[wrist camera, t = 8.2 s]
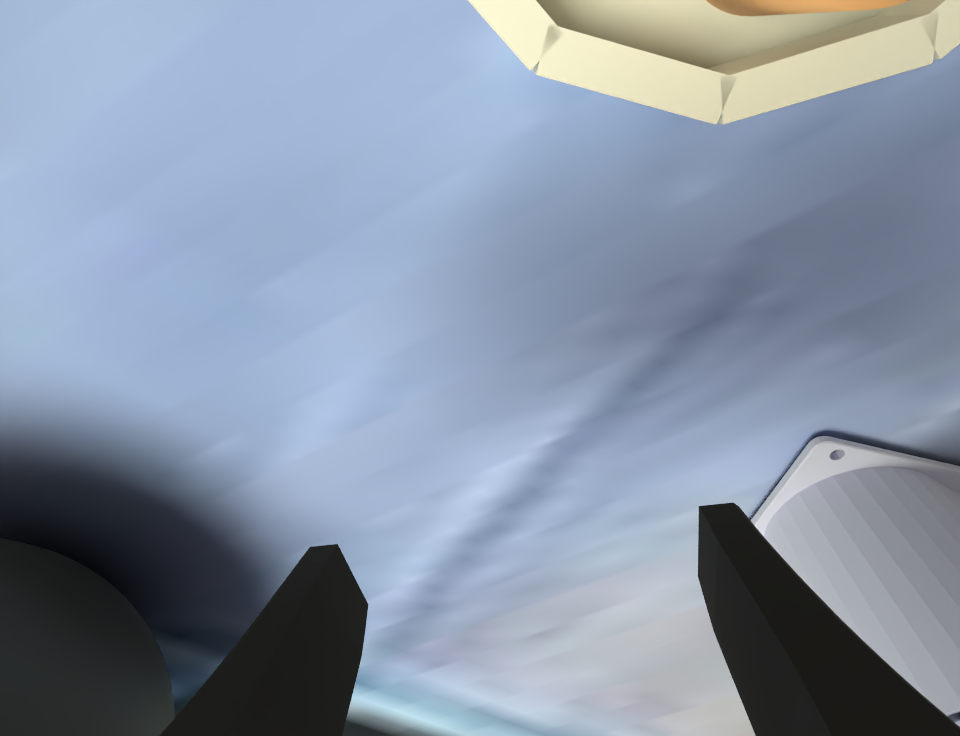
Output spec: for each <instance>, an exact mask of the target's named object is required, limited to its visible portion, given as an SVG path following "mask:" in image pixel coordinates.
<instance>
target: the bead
mask: <svg viewBox="0 0 960 736" xmlns="http://www.w3.org/2000/svg"><path fill="white" fill-rule="evenodd" d="M706 1H707V2H708V3H710V4H711V5H712V6H714V7H716V8H717V9H719V10H721V11H724V12H726V13H729V14H733V15H738V16H766V15H785V14H803V13H822V12H840V11H858V10H872V9H881V8H886V7H890V6H894V5H898V4H902V3H905V2H907V1H910V0H706Z"/></svg>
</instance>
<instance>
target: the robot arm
mask: <svg viewBox="0 0 960 736" xmlns="http://www.w3.org/2000/svg"><path fill="white" fill-rule="evenodd" d="M835 450H837V451H836V452H833V451H835ZM832 452H833V453H832ZM698 578H699V581H700V585H701V588H702V592H703V595H704V599H705V603H706V606H707V609H708V613H709V616H710V620H711V623H712V626H713V630H714V633H715V635H716V638H717V640H718V643H719V645H720V648H721V650H722V653H723V655H724V658H725V660H726V663H727V665H728V668H729V670H730V673H731V675H732V678H733V680H734V683H735V685H736V688H737V690H738V693H739V695H740V698H741V700H742V703H743V705H744V708H745V710H746V713H747V715H748V718H749V720H750V722H751V725H752V727H753V730H754V732H755V735H756V736H960V466H956V465H952V464H948V463H943V462H939V461H934V460H930V459H926V458H921V457H917V456H913V455H908V454H904V453H899V452H895V451H891V450H886V449H882V448H878V447H873V446H869V445H864V444H860V443H856V442H851V441H847V440H843V439H838V438H834V437H829V436H820V437H816V438H814V439H812V440H811V441H810V442H809V443H808V444H807V446H806V447H805V448H804V450H803V451H802V452H801V454H800V455H799V456H798V458H797V459H796V460H795V462H794V463H793V465H792V466H791V467H790V469H789V470H788V471H787V473H786V474H785V475H784V477H783V478H782V479H781V481H780V482H779V483H778V485H777V486H776V487H775V489H774V490H773V491H772V493H771V494H770V495H769V497H768V498H767V499H766V501H765V502H764V503H763V505H762V506H761V507H760V509H759V510H758V511H757V513H756V514H755V515H754V517H753V518H752V519H751V521H750V520H749V518H748V517H747V516H746V515H745V514H744V512H743V511H742V510H741V509H740V507H739V506H737V505H736V504H734V503H725V504H716V505H706V506H699V543H698ZM367 610H368V603H367V601H366V599H365V597H364V595H363V593H362V592H361V590H360V588H359V586H358V584H357V582H356V580H355V578H354V576H353V574H352V572H351V570H350V568H349V566H348V564H347V562H346V560H345V558H344V556H343V554H342V552H341V550H340V548H339V546H338V544H335V545H325V546H316V547H310V548H309V549H308V551H307V552H306V553H305V554H304V556H303V557H302V558H301V560H300V561H299V562H298V564H297V565H296V566H295V568H294V569H293V570H292V572H291V573H290V574H289V576H288V577H287V578H286V580H285V581H284V582H283V584H282V585H281V586H280V588H279V589H278V590H277V592H276V593H275V594H274V596H273V597H272V598H271V600H270V601H269V602H268V604H267V605H266V606H265V608H264V609H263V610H262V612H261V613H260V614H259V616H258V617H257V618H256V620H255V621H254V622H253V623H252V625H251V626H250V627H249V629H248V630H247V631H246V633H245V634H244V635H243V636H242V638H241V639H240V640H239V642H238V643H237V644H236V646H235V647H234V648H233V649H232V651H231V652H230V653H229V654H228V656H227V657H226V658H225V659H224V661H223V662H222V663H221V664H220V665H219V667H218V668H217V669H216V670H215V671H214V673H213V674H212V675H211V676H210V678H209V679H208V680H207V681H206V682H205V684H204V685H203V686H202V687H201V688H200V690H199V691H198V692H197V693H196V694H195V696H194V697H193V698H192V699H191V700H190V702H189V703H188V704H187V705H186V706H185V707H184V709H183V710H182V711H181V712H180V713H179V714H178V715H177V716H176V718H175V719H174V720H173V721H172V722H171V723H170V724H169V725H168V727H167V728H166V729H165V730H164V731H163V732H162V733H161V734H160V735H159V736H342V733H343V729H344V725H345V721H346V717H347V713H348V709H349V705H350V702H351V698H352V693H353V689H354V685H355V681H356V677H357V673H358V669H359V665H360V660H361V656H362V649H363V642H364V635H365V627H366V619H367Z"/></svg>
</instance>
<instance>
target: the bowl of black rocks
mask: <svg viewBox="0 0 960 736" xmlns="http://www.w3.org/2000/svg"><path fill="white" fill-rule="evenodd" d="M174 719H175V712H174V699H173V694H172V688H171V683H170V678H169V674H168V671H167V668H166V665H165V661H164V658H163V655H162V653H161V650H160V648H159V646H158V644H157V642H156V640H155V638H154V636H153V634H152V632H151V630H150V629H149V627H148V625H147V624H146V622H145V621H144V619H143V618H142V617H141V615H140V614H139V613H138V611H137V610H136V609H135V607H134V606H133V605H132V604H131V603H130V602H129V600H128V599H127V598H126V597H125V596H124V595H123V594H122V593H120V592H119V591H118V590H117V589H116V588H115V587H114V586H112V585H111V584H110V583H109V582H107V581H106V580H105V579H104V578H102V577H101V576H100V575H98V574H97V573H95V572H94V571H92V570H90V569H89V568H87V567H85V566H83V565H82V564H80V563H78V562H76V561H74V560H72V559H70V558H68V557H65V556H63V555H61V554H58V553H55V552H53V551H50V550H47V549H44V548H41V547H38V546H34V545H30V544H26V543H22V542H18V541H13V540H8V539H4V538H0V736H159V735H160V734H161V733H162V732H163V731H164V730H165V729H166V728H167V727H168V725H169V724H170V723H171V722H172V721H173V720H174Z"/></svg>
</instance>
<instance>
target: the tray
mask: <svg viewBox="0 0 960 736" xmlns="http://www.w3.org/2000/svg"><path fill="white" fill-rule="evenodd" d="M468 1H469V2H470V3H471V4H472V5H473V7H474V8H475V9H476V10H477V11H478V12H479V13H480V14H481V16H482V17H483V18H484V19H485V20H486V21H487V22H488V24H489V25H490V26H491V27H492V28H493V29H494V30H495V32H496V33H497V34H498V35H499V36H500V37H501V38H502V39H503V41H504V42H505V43H506V44H507V45H508V46H509V47H510V49H511V50H512V51H513V52H514V53H515V54H516V55H517V56H518V58H519V59H520V60H521V61H522V62H523V63H524V64H525V66H526V67H527V68H528V69H529V70H530V71H531V70H532V69H533V71H534V72H535V74H536V75H539V76H543V77H546V78H550V79H553V80H557V81H561V82H564V83H568V84H571V85H575V86H579V87H582V88H586V89H589V90H593V91H597V92H600V93H604V94H607V95H611V96H615V97H618V98H622V99H625V100H629V101H633V102H636V103H640V104H643V105H647V106H651V107H654V108H658V109H661V110H665V111H669V112H672V113H676V114H679V115H683V116H687V117H690V118H694V119H697V120H701V121H705V122H708V123H712V124H715V125H717V123H720V124H723V125H724V124H727V123H730V122H734V121H737V120H741V119H744V118H748V117H751V116H754V115H758V114H761V113H765V112H768V111H772V110H775V109H778V108H782V107H785V106H789V105H792V104H796V103H799V102H802V101H806V100H809V99H813V98H816V97H820V96H823V95H826V94H830V93H833V92H837V91H840V90H844V89H847V88H850V87H854V86H857V85H861V84H864V83H868V82H871V81H874V80H878V79H881V78H885V77H888V76H892V75H895V74H899V73H902V72H905V71H909V70H912V69H916V68H919V67H923V66H926V65H929V64H933V59H941V58H943V57H944V56H945V55H946V54H948V53H949V52H950V51H951V50H953V49H954V48H955V47H956V46H958V45H959V44H960V0H910V1H907V2H905V3H902V4H898V5H894V6H890V7H886V8H881V9H872V10H858V11H840V12H822V13H803V14H785V15H766V16H738V15H733V14H729V13H726V12H724V11H721V10H719V9H717V8H716V7H714V6H712V5H711V4H710V3H708V2H707V1H706V0H468Z"/></svg>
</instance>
